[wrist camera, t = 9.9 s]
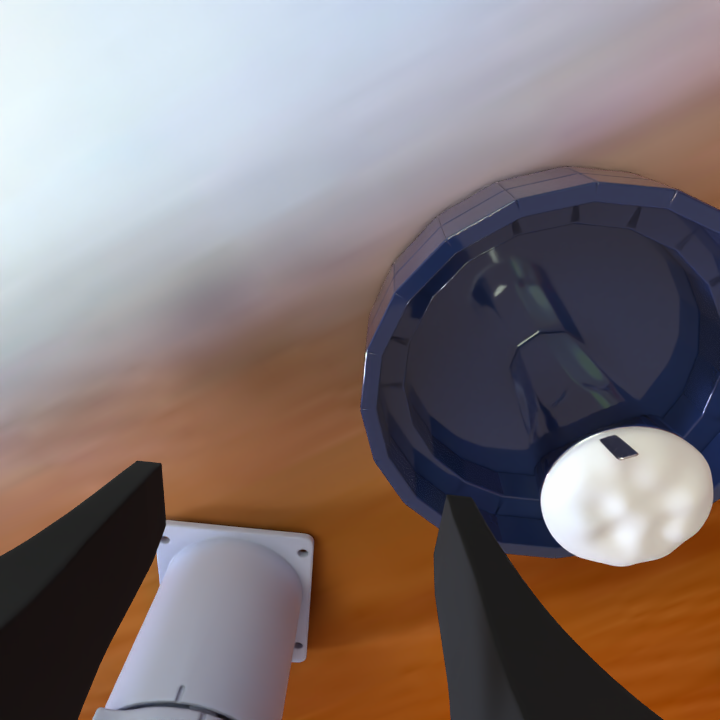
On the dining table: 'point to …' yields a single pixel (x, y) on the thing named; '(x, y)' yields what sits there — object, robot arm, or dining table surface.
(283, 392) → the dining table surface
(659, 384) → the bowl
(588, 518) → the milkshake
